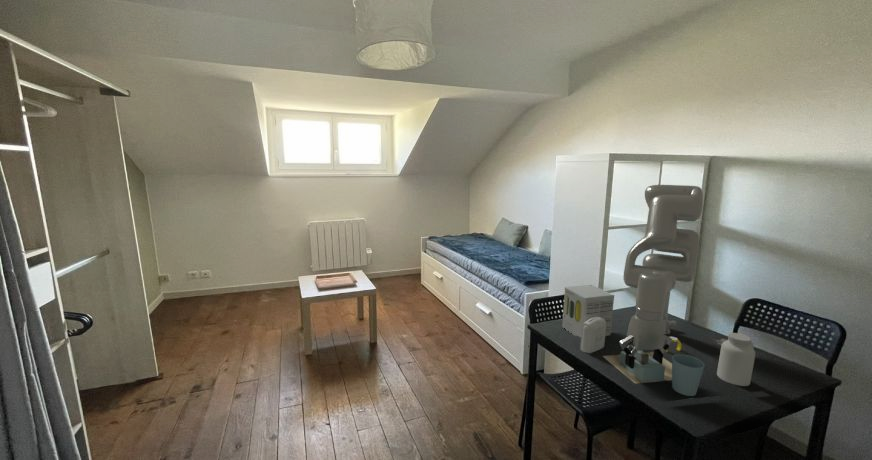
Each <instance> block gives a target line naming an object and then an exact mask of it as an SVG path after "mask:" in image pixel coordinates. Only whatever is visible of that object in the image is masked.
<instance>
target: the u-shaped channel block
mask: <svg viewBox="0 0 872 460" xmlns="http://www.w3.org/2000/svg"><path fill="white" fill-rule="evenodd" d="M641 352H644V350H642V351H637V352H636V353H635V356H634V357H636V360H635V362H634V368H633V369H631V368H630V367H629V366H627V365H626V364H625V357H626V353H625V352H624V351H623V350H622V351H620V354H619V355H620V365H621V366H622V367H624V368H625V369H626V370H627V371H629V372H630V373H631V374H632V375H633V376H635V377H636V378H637V379H638V380H640V381H641V382H642V383H641V384H645V383H644V382H648V383H655V382H654V381H658V382H665V381H664V373H665V366H663V365H662V364H660V363H659V362H657V361H656V360H654V359H653V358H652V357H650V356H649V359H648V365H642V364H641V363H639V358H640V353H641Z"/></svg>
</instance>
